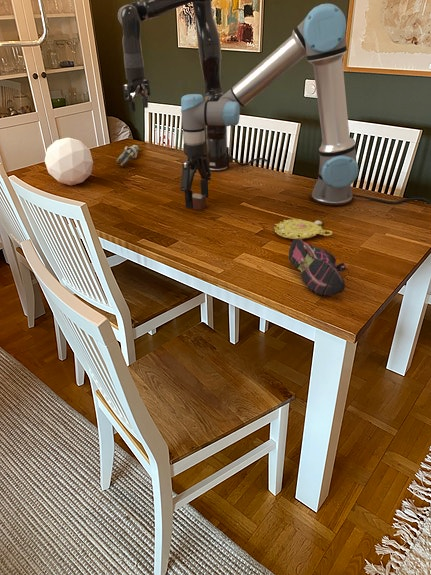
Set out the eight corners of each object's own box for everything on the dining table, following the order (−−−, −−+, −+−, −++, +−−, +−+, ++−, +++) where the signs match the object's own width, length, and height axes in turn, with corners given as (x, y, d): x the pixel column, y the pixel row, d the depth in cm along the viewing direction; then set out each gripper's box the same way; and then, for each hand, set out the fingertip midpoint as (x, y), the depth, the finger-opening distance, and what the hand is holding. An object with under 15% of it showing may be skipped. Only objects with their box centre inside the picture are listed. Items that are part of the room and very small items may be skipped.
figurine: (121, 147, 205) (136, 136, 231) (111, 160, 208) (127, 147, 235) (133, 159, 207) (147, 145, 233) (123, 171, 210) (137, 157, 237)
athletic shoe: (331, 285, 107) (371, 277, 111) (291, 223, 118) (328, 219, 123) (315, 312, 115) (352, 304, 120) (279, 253, 127) (314, 247, 131)
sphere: (65, 197, 199) (41, 157, 196) (104, 175, 201) (80, 136, 198) (57, 189, 180) (29, 146, 177) (100, 165, 182) (73, 122, 180)
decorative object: (286, 211, 157) (342, 219, 147) (286, 217, 158) (341, 226, 148) (260, 233, 142) (319, 243, 133) (260, 240, 144) (319, 251, 134)
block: (195, 204, 170) (194, 193, 167) (206, 206, 168) (205, 195, 165) (189, 208, 167) (188, 196, 164) (201, 210, 165) (200, 198, 162)
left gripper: (137, 63, 179) (142, 105, 188) (115, 67, 169) (121, 112, 178) (152, 63, 176) (156, 107, 185) (130, 68, 166) (136, 113, 175)
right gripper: (201, 134, 165) (203, 190, 176) (166, 150, 147) (172, 211, 159) (219, 135, 161) (220, 193, 173) (186, 152, 144) (189, 215, 156)
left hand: (139, 109), depth 181 cm, fingers open, 8 cm apart
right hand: (197, 202), depth 166 cm, fingers open, 11 cm apart
